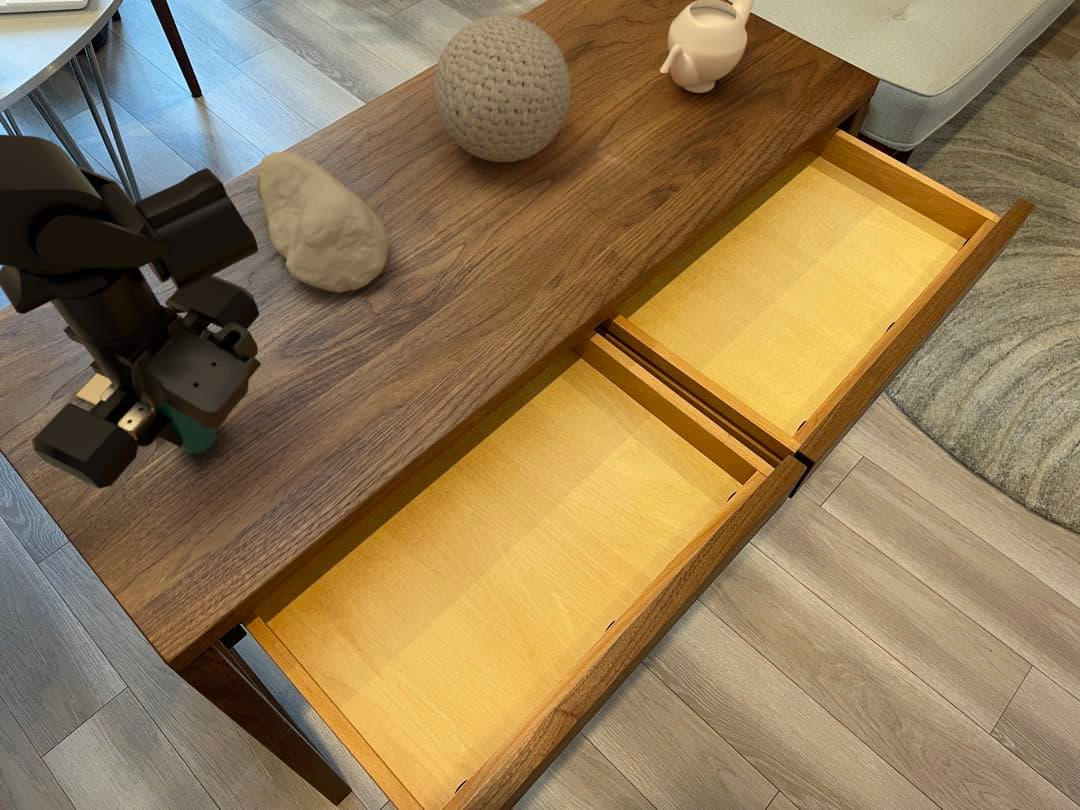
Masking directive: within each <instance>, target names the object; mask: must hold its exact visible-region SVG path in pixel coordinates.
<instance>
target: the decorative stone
mask: <svg viewBox="0 0 1080 810" xmlns="http://www.w3.org/2000/svg"><path fill="white" fill-rule="evenodd" d="M255 182H256V183H255V191H256V195H257V198H258V199H259V201H260V203H261V204H262V206H263V209H264V213H265V214H266V218H267V223H268V233H269V236H270V237H269V238H270V241H271V243H272V246H273V248H274V249H275V250H276V252H277V253H278V254H280V255H281V256H282V257H283V258H285V259H286V261H285V267H286V270H287V271H288V272H289V274H290V276H291V277H292V278H293V279H295V280H297V281H299V282H301V283H303V284H305V285H308V286H311V287H314V288H318V289H321V290H325V291H328V292H333V293H345V292H348V291H355V290H359V289H361V288H363V287H365V286H367V285H369V284H370V283H371V282H372V281H373V280H374V279H375V278H377V277H378V276H379V275H380V273H381V272H382V271H383V270H384V268H385V266H386V263H387V258H388V252H389V249H390V245H391V242H390V238H389V235H388V232H387V230H386V228H385V226H384V224H383V222H382V221H381V220H380V218H379V216H378V215H377V214H376V213H375V212H374V211H373V210H372V208H370V207H369V206H368V204H366V202H365V201H364V200H363V199H362V198H360V197H359V196H358V195H357V194H355V192H353V191H352V190H350V189H349V188H348V187H346V186H345V185H344V184H342V183H341V182H340V181H339V180H338V179H337V178H336V177H335V176H333V175H332V174H331V172H329V171H328V170H327V169H326V168H325V167H324V166H322V165H320V164H319V163H317V162H315V161H313V160H312V159H310V158H308V157H305V156H302V155H300V154H296V153H294V152H290V151H289V152H288V151H275V152H271V153H270V154H267V155H264V157H263V158H262V159H261V161H260V163H259V166H258V168H257V172H256V180H255Z"/></svg>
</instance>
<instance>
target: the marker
mask: <svg viewBox="0 0 1080 810" xmlns="http://www.w3.org/2000/svg"><path fill="white" fill-rule="evenodd" d="M151 407H152V408H153V410H154V411H156V412H159V413H161V414H163V415H165V416H167V417H169V418H172V421H171V422H170V423H169V425H170V426H171V427H172V428H173V429H174V430H175V431H176V433H177V434H178V435H179V436H180V438H181V440H182V442H183V445H182V446H181V447H179V448H180V449H181V450H182V451H183V452H185V453H188V454H189V455H191V456H194V457H195V456H196V457H202V456H206V455H208V454H209V453H210V452H212V451H213V450H214V449H215V447H216V445H217V430H216V428H205V427H203V426H201V425H199V424H198V423H197V422H196V421H194V420H193V419H191V418H189V417H188V416H186V415H185V414H183V413H181V412H180V411H178V410H176V409H175V408H173V407H171V406H170V405H168V404H167V403H166V402H165V401H161V402H160V403H159V405H158V406H157V407H154V406H152V405H151Z"/></svg>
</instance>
